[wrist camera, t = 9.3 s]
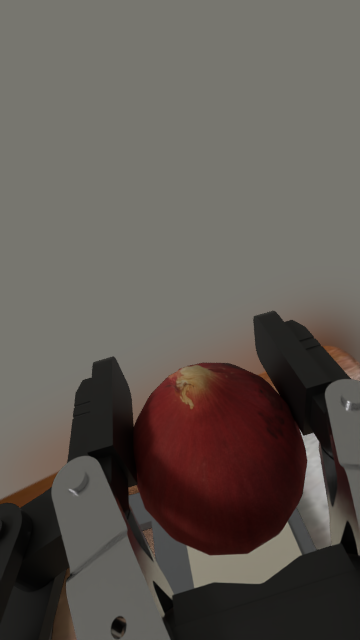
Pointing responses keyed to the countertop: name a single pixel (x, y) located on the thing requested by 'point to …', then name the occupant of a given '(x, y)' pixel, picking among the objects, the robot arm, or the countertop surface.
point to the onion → (219, 459)
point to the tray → (201, 569)
